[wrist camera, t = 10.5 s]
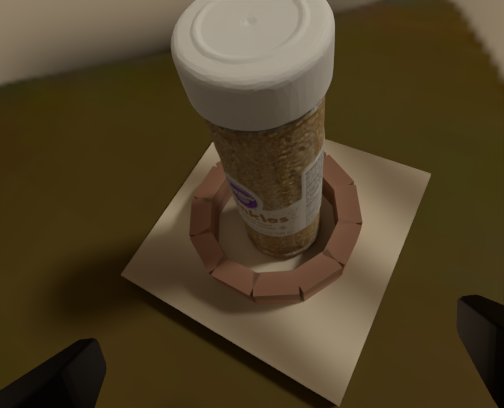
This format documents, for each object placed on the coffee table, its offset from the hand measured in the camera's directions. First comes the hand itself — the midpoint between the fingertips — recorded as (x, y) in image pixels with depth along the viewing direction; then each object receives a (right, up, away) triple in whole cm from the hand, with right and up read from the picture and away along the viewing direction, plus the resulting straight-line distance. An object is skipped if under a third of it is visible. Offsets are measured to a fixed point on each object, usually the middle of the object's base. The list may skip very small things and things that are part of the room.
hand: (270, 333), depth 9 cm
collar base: (+1, +1, +13) cm, 13 cm away
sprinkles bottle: (+2, +2, +13) cm, 13 cm away
